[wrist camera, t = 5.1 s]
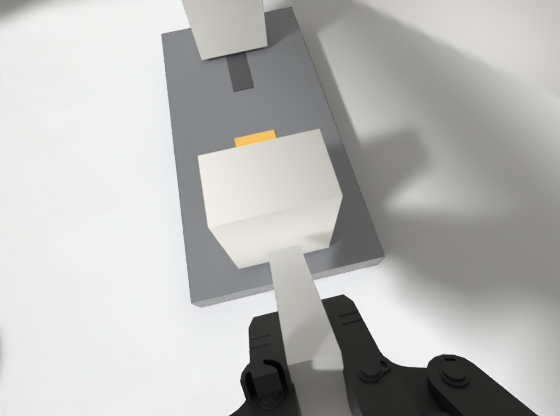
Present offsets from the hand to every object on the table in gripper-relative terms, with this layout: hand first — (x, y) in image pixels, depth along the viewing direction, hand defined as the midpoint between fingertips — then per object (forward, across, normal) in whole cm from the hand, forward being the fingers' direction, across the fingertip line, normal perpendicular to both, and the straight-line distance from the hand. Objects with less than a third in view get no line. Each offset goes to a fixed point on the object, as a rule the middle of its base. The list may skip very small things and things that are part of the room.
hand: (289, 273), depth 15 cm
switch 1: (+18, 0, +12) cm, 22 cm away
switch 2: (+5, 0, 0) cm, 5 cm away
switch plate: (+15, 0, +5) cm, 16 cm away
